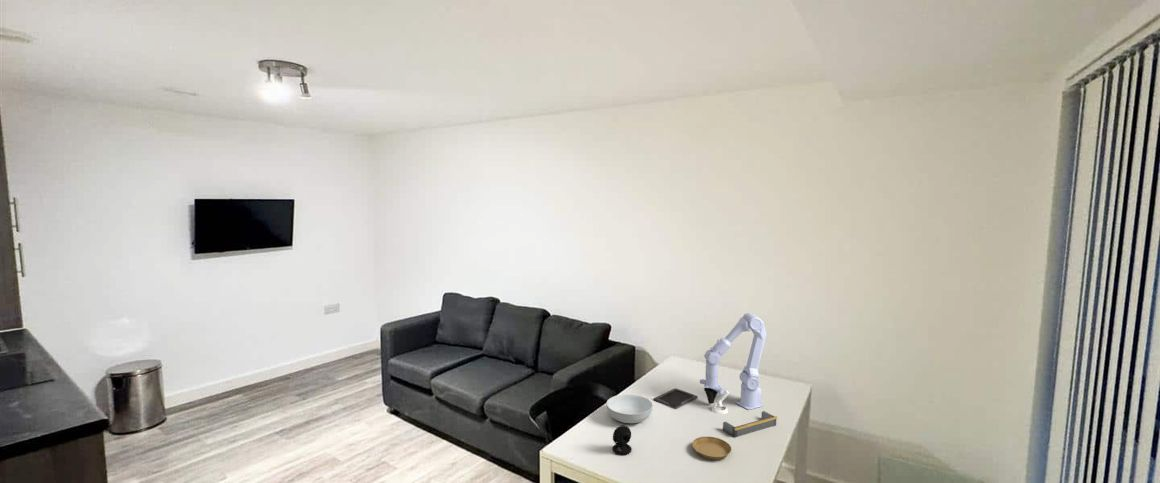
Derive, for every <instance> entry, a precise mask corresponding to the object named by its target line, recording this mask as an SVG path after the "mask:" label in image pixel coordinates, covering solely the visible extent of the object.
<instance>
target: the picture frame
mask: <svg viewBox="0 0 1160 483" xmlns="http://www.w3.org/2000/svg"><path fill="white" fill-rule="evenodd" d="M698 398H699V396H698V395H696V394H693V393H692V392H691V393H690V392H687V391H686V390H682V389H679V388H676V387H675V388H673V389H671V390H668V391H666V392H664V393H661V394H660V395H658V396H655V397H654V398H653V401H655V402H656V403H660V404H662V405H664V406H667V407H670V408H673V409H675V410H678V409H679V408H681V407H683V406H685V405H687V404H689V403H691V402H693V401H696V400H697V399H698Z"/></svg>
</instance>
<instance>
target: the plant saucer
mask: <svg viewBox="0 0 1160 483" xmlns="http://www.w3.org/2000/svg"><path fill="white" fill-rule="evenodd" d="M692 448H693V449H694V450H695V451H696V453H697V454H699V455H700V456H701V457H703V458H705V459H708V460H715V461H718V460H722V459H724V458H726V457H727V456H729V455H730V454H731V453H732V446H731V445H730V444H729V443H728V441H725V440H724V439H721V438H719V437H714V436H699V437H697V438H695V439H693V441H692Z"/></svg>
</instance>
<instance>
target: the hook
mask: <svg viewBox="0 0 1160 483" xmlns="http://www.w3.org/2000/svg"><path fill="white" fill-rule="evenodd" d="M728 395H730V392H729V390H727V389H726V390H724V394H720V396H719V397H718V398H717V400H716V402H715V403H714V404H713V405H712V407H711V409H710V410H711V411H712V412H713V413H714V414H717V415H726V414H728V413H729V410H728V407H727V406H726V405H724V404H723V401H724V400H725V399H726V398H727V397H728ZM717 408H720V409H717Z"/></svg>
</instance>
